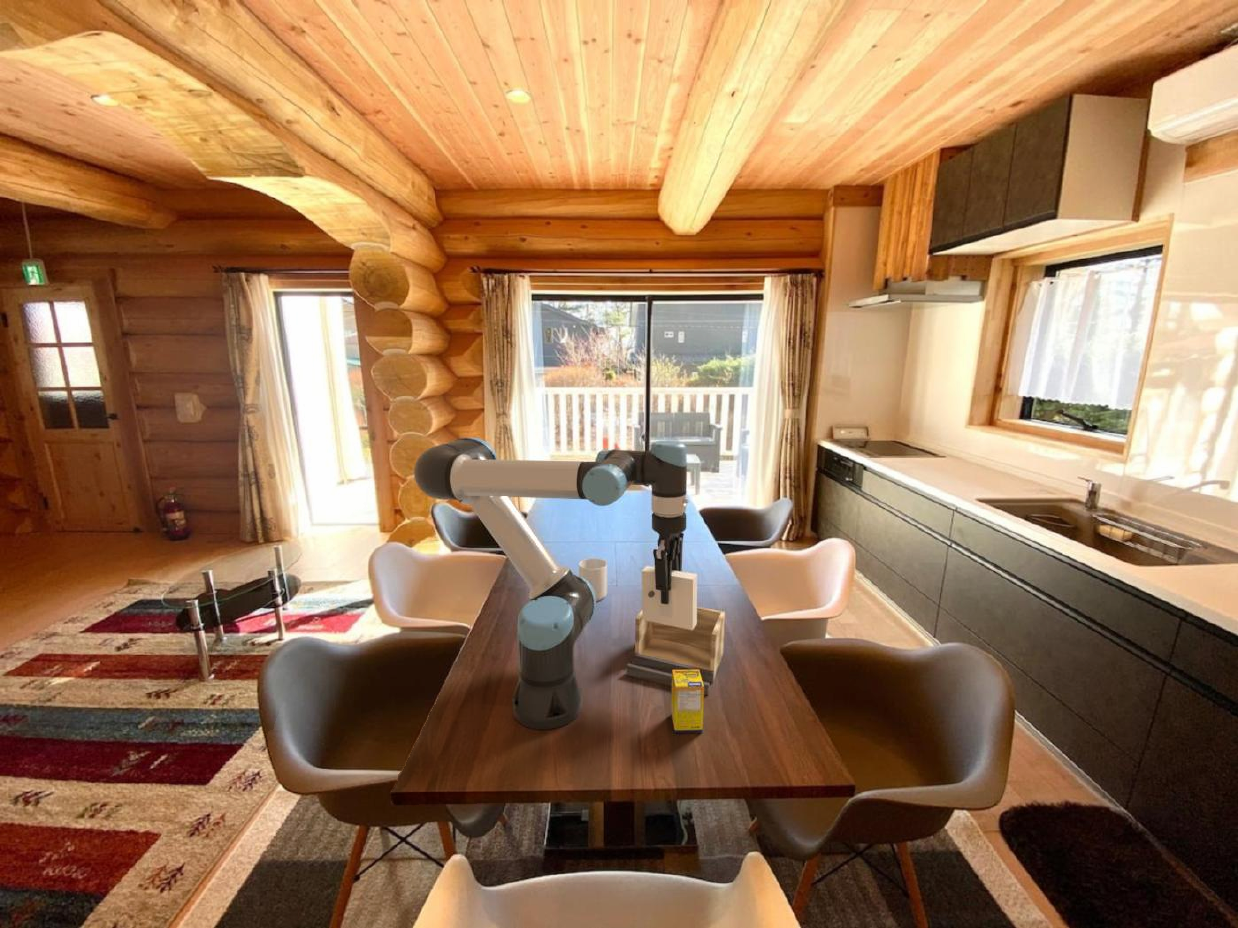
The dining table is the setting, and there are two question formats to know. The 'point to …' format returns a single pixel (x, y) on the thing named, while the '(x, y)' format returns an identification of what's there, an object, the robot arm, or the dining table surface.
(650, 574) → the door
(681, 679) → the supplement box
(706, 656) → the carcass
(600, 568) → the mug
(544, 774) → the dining table surface
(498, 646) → the dining table surface
